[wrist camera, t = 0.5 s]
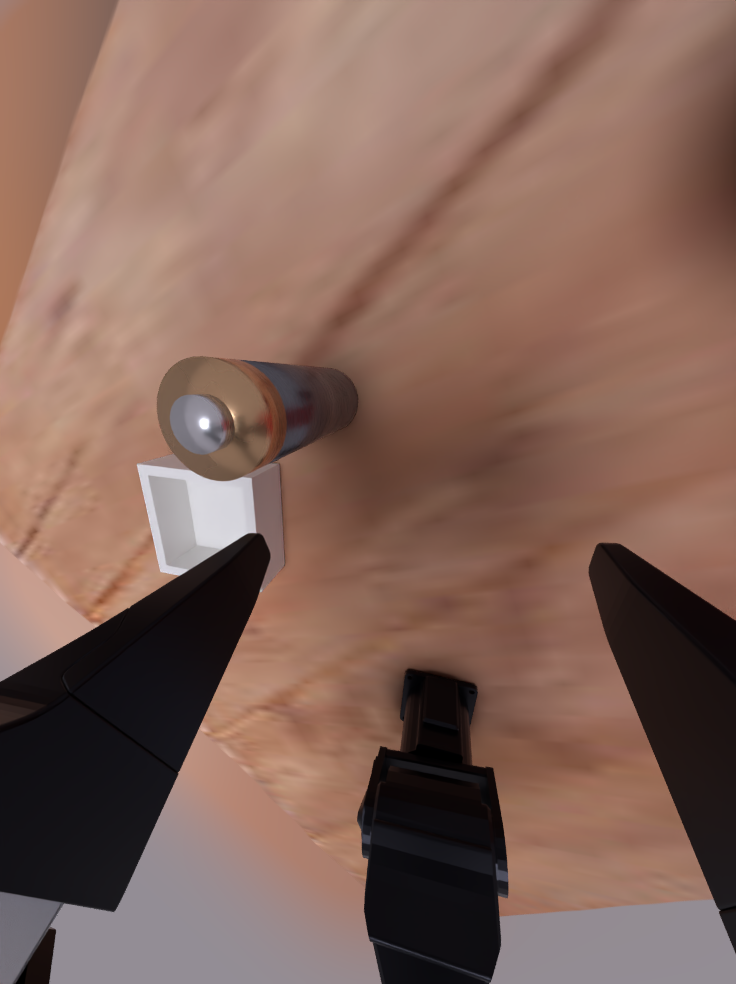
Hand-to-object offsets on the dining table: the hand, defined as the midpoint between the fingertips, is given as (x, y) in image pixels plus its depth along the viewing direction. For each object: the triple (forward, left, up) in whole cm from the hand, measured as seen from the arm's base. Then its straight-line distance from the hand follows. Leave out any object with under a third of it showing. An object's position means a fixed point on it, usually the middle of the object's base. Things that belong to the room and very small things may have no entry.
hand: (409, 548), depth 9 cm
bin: (-7, +17, -15) cm, 23 cm away
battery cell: (+3, +8, -15) cm, 17 cm away
